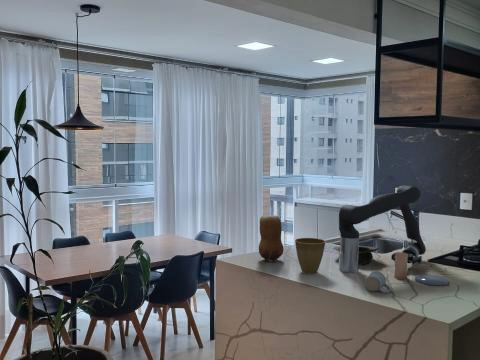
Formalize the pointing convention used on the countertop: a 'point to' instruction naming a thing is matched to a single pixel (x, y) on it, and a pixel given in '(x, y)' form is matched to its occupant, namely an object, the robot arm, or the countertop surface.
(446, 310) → the countertop surface
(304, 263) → the plant pot
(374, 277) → the ceramic mug
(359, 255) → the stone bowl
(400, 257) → the canister
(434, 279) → the slate dish
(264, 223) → the butternut squash
